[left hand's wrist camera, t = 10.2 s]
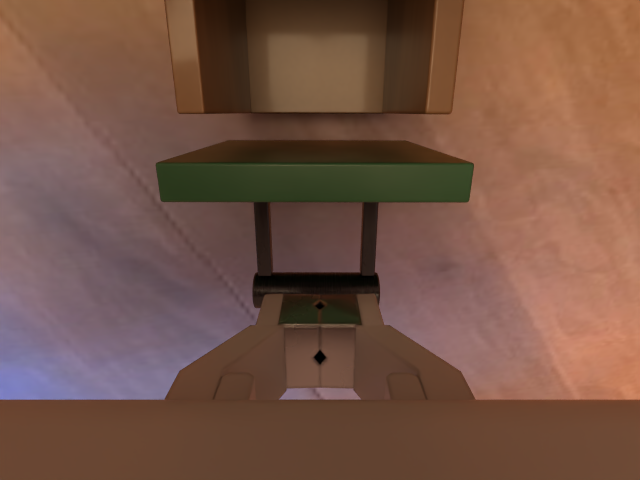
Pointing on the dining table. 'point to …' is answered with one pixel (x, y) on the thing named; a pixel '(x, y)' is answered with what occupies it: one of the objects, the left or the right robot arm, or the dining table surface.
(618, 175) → the dining table surface
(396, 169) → the drawer
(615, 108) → the dining table surface
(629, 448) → the left robot arm
